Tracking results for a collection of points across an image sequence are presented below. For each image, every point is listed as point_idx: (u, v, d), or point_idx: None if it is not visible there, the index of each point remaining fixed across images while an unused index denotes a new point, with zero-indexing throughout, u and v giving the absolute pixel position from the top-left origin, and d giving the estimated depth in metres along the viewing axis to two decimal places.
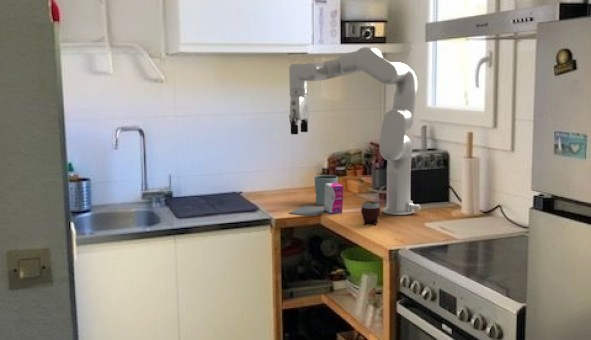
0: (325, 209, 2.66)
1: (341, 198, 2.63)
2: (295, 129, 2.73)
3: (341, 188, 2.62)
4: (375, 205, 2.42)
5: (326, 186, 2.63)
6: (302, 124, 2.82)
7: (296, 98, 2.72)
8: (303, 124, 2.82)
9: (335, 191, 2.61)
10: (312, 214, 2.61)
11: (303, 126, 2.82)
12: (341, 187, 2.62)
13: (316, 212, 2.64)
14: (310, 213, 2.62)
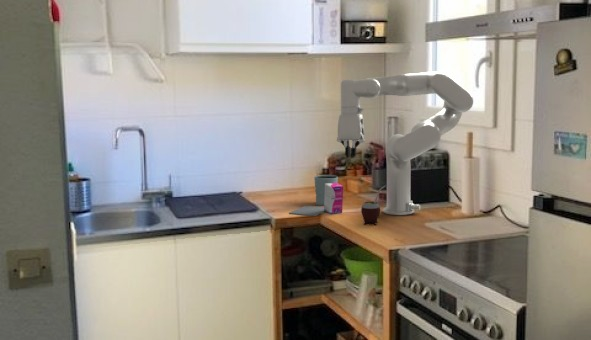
0: (325, 209, 2.66)
1: (341, 198, 2.63)
2: None
3: (341, 188, 2.62)
4: (375, 205, 2.42)
5: (326, 186, 2.63)
6: (348, 149, 2.58)
7: (362, 116, 2.55)
8: (349, 149, 2.58)
9: (335, 191, 2.61)
10: (312, 214, 2.61)
11: (349, 151, 2.58)
12: (341, 187, 2.61)
13: (316, 212, 2.64)
14: (310, 213, 2.62)
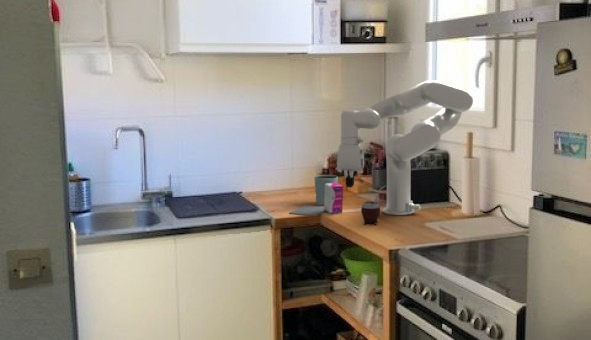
0: (325, 209, 2.66)
1: (341, 198, 2.63)
2: None
3: (341, 188, 2.62)
4: (375, 205, 2.42)
5: (326, 186, 2.63)
6: None
7: None
8: None
9: (335, 191, 2.61)
10: (312, 214, 2.61)
11: None
12: (341, 187, 2.61)
13: (316, 212, 2.64)
14: (310, 213, 2.62)
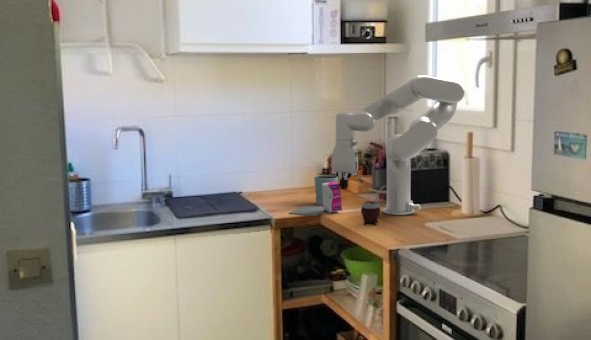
0: (325, 209, 2.66)
1: (339, 196, 2.63)
2: None
3: (338, 186, 2.62)
4: (375, 205, 2.42)
5: (323, 186, 2.64)
6: None
7: (356, 149, 2.58)
8: None
9: (332, 190, 2.61)
10: (312, 214, 2.61)
11: None
12: (337, 185, 2.62)
13: (316, 212, 2.64)
14: (310, 213, 2.62)
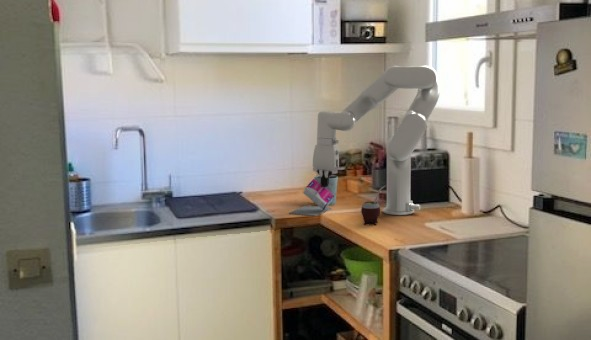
0: (323, 208, 2.66)
1: (322, 187, 2.65)
2: None
3: (314, 181, 2.66)
4: (375, 205, 2.42)
5: (304, 192, 2.67)
6: None
7: (337, 147, 2.61)
8: None
9: (312, 187, 2.64)
10: (312, 214, 2.61)
11: None
12: (313, 181, 2.66)
13: (316, 212, 2.64)
14: (310, 213, 2.62)
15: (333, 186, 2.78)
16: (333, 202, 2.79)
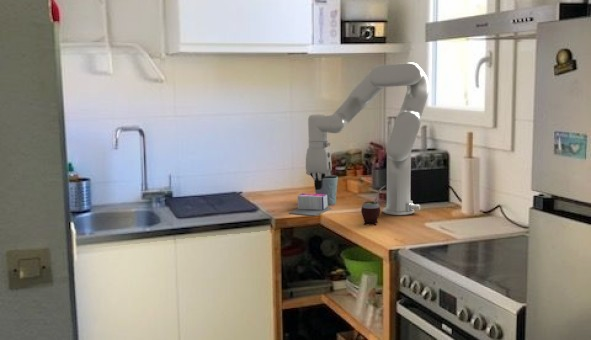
0: (321, 206, 2.67)
1: (313, 194, 2.73)
2: None
3: (303, 193, 2.74)
4: (375, 205, 2.42)
5: (299, 205, 2.71)
6: None
7: (329, 150, 2.64)
8: None
9: (303, 194, 2.71)
10: (312, 214, 2.61)
11: None
12: (302, 193, 2.74)
13: (316, 212, 2.64)
14: (310, 213, 2.62)
15: (333, 186, 2.78)
16: (333, 202, 2.79)
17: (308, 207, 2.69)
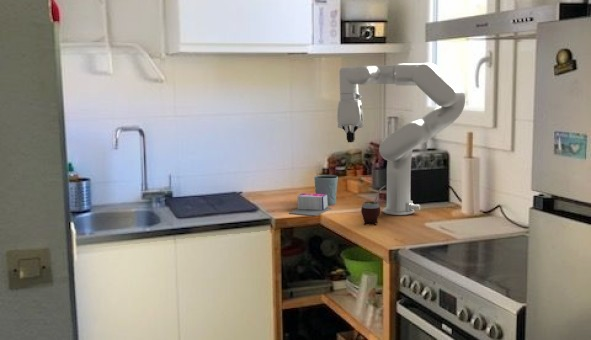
0: (321, 206, 2.67)
1: None
2: None
3: (303, 193, 2.74)
4: (375, 205, 2.42)
5: (299, 205, 2.71)
6: None
7: (360, 102, 2.65)
8: None
9: (303, 195, 2.71)
10: (312, 214, 2.61)
11: None
12: (302, 193, 2.74)
13: (316, 212, 2.64)
14: (310, 213, 2.62)
15: (333, 186, 2.78)
16: (333, 202, 2.79)
17: (308, 207, 2.69)
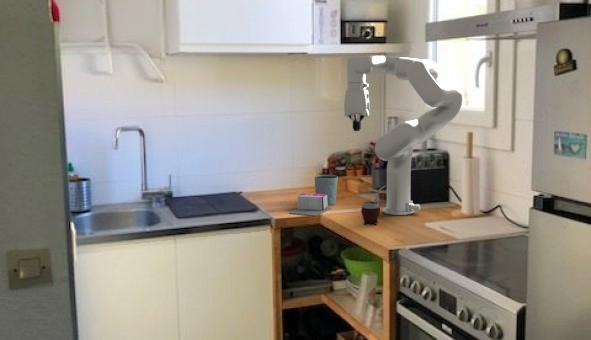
0: (321, 206, 2.67)
1: None
2: None
3: (303, 193, 2.74)
4: (375, 205, 2.42)
5: (299, 205, 2.71)
6: None
7: (367, 91, 2.68)
8: None
9: (303, 195, 2.71)
10: (312, 214, 2.61)
11: None
12: (302, 193, 2.74)
13: (316, 212, 2.64)
14: (310, 213, 2.62)
15: (333, 186, 2.78)
16: (333, 202, 2.79)
17: (308, 207, 2.69)
